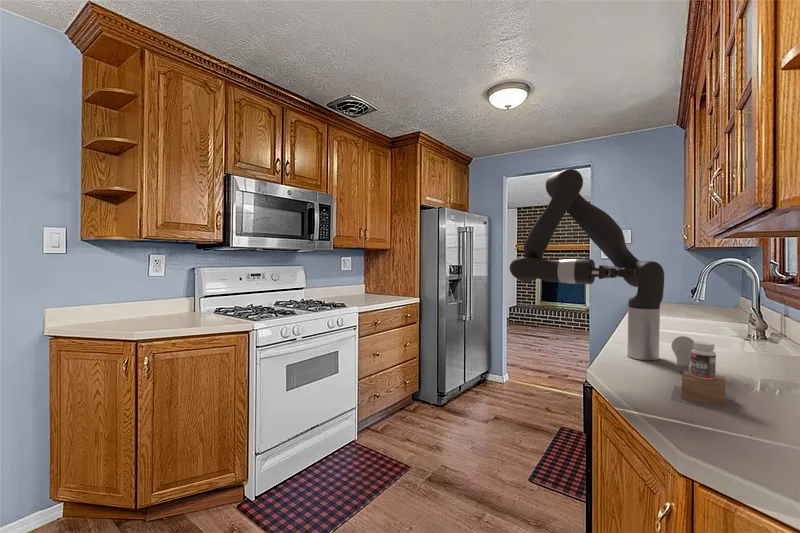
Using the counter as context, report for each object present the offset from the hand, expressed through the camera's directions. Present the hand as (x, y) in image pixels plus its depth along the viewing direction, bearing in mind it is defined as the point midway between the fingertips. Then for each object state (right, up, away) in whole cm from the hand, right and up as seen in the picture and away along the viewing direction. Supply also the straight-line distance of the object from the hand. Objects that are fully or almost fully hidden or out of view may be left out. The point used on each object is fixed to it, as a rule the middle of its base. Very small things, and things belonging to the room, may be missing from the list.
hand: (637, 272), depth 109 cm
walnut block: (+7, -30, -15) cm, 34 cm away
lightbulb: (+18, -30, +7) cm, 36 cm away
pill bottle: (+6, -25, -15) cm, 30 cm away
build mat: (+7, -30, -15) cm, 35 cm away
